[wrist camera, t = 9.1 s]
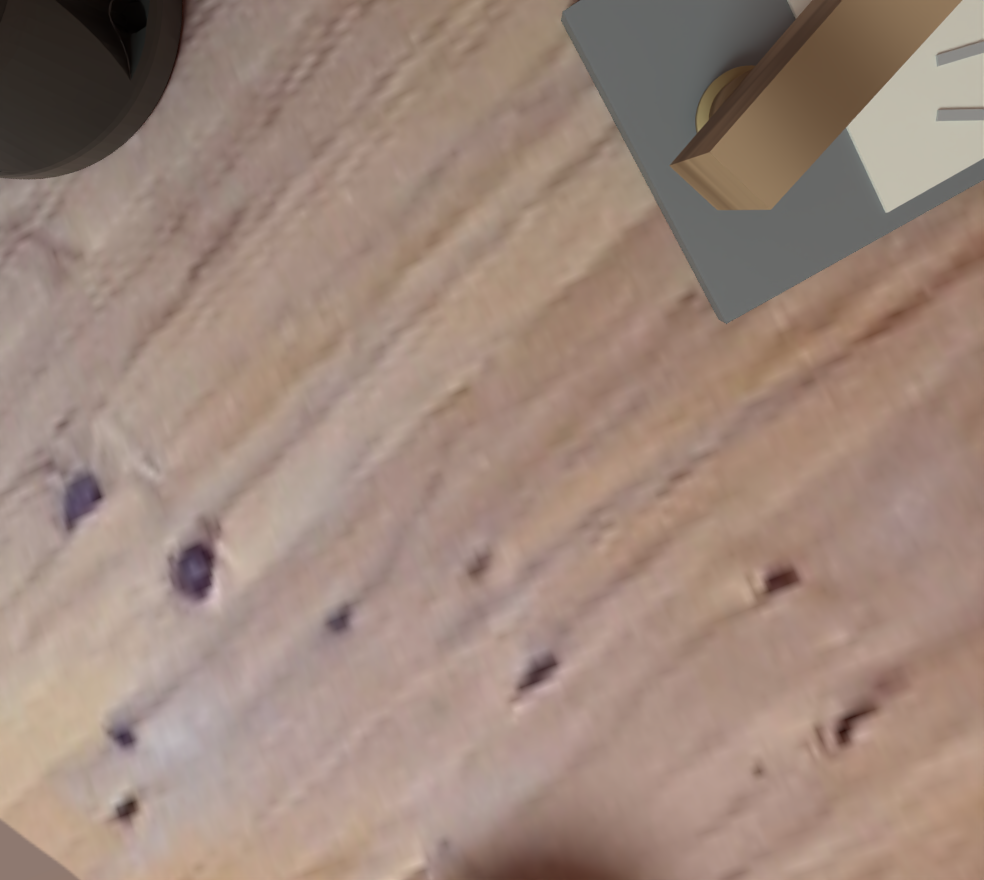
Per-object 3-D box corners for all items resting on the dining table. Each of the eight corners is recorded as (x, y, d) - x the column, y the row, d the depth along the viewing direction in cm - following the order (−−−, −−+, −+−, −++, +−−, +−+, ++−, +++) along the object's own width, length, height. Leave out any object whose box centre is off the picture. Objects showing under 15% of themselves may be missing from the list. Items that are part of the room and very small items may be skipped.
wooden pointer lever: (711, 220, 33) (785, 224, 24) (645, 159, 33) (693, 137, 23) (974, -73, 30) (1183, -207, 20) (906, -145, 30) (1086, -317, 20)
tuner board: (561, 20, 34) (562, 9, 32) (1015, -277, 30) (1045, -308, 28) (718, 319, 36) (728, 324, 35) (1148, 77, 33) (1183, 69, 31)
